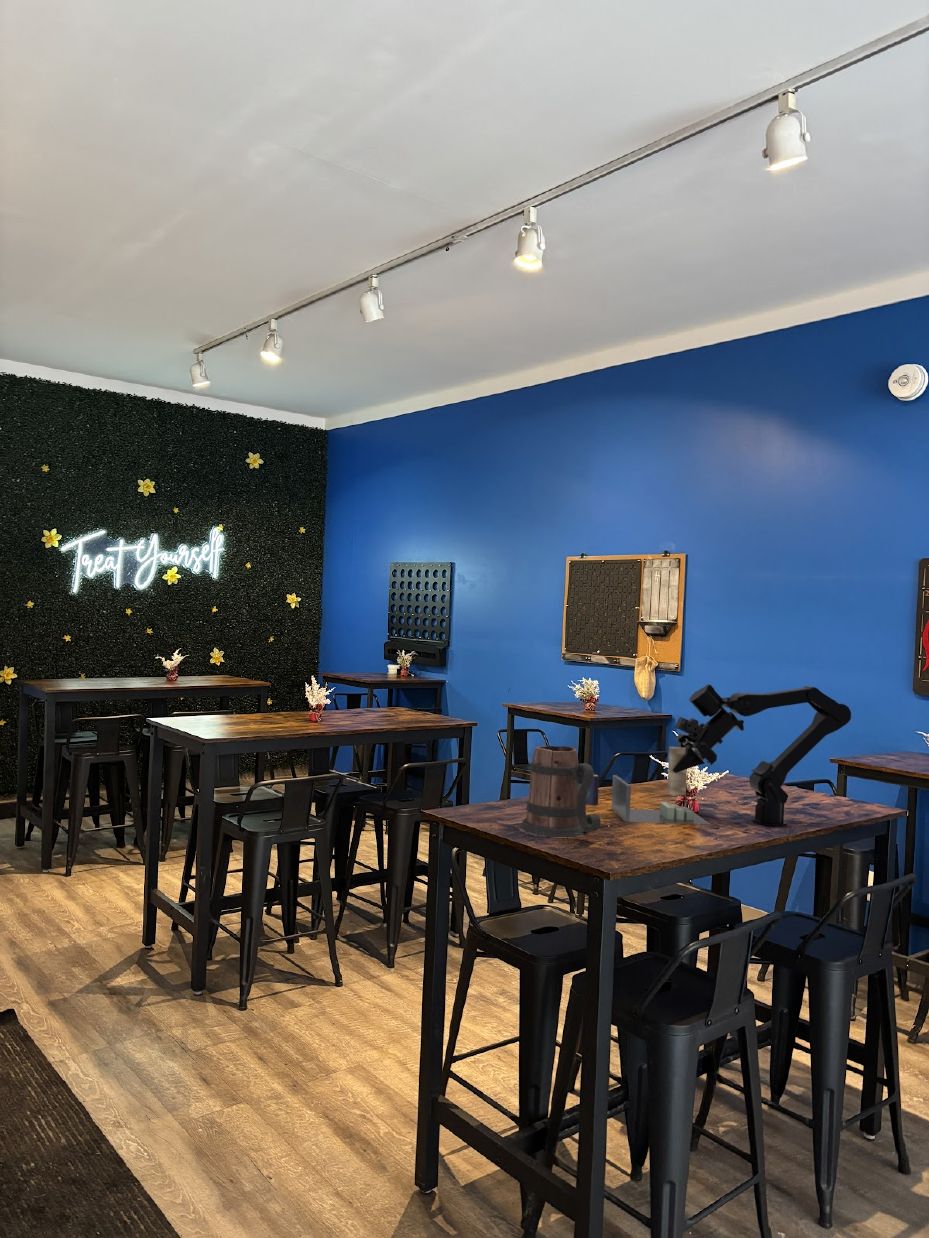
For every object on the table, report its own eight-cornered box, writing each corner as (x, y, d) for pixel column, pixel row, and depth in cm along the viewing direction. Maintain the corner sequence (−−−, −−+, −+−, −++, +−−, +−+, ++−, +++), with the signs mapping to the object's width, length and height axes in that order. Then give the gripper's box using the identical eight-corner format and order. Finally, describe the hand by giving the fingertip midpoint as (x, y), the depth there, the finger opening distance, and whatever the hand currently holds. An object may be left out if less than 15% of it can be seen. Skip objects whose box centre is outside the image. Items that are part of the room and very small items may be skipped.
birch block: (682, 792, 244) (684, 747, 244) (685, 795, 241) (687, 748, 241) (667, 792, 244) (669, 746, 244) (670, 794, 241) (672, 748, 241)
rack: (691, 814, 251) (693, 777, 251) (711, 828, 235) (712, 788, 235) (611, 812, 249) (612, 775, 249) (625, 825, 233) (626, 785, 233)
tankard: (503, 826, 226) (506, 744, 226) (554, 820, 236) (558, 741, 236) (569, 848, 207) (573, 758, 207) (622, 840, 217) (626, 754, 217)
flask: (563, 805, 257) (565, 766, 257) (567, 803, 259) (569, 764, 259) (596, 809, 253) (598, 769, 253) (599, 807, 255) (601, 768, 255)
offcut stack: (685, 814, 246) (686, 802, 246) (693, 820, 239) (694, 808, 239) (659, 813, 245) (660, 802, 245) (667, 819, 238) (667, 807, 238)
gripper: (684, 703, 252) (642, 743, 251) (706, 710, 233) (661, 753, 232) (711, 733, 252) (670, 773, 252) (735, 742, 234) (691, 785, 233)
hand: (672, 770), depth 242 cm, fingers closed on birch block, 3 cm apart
